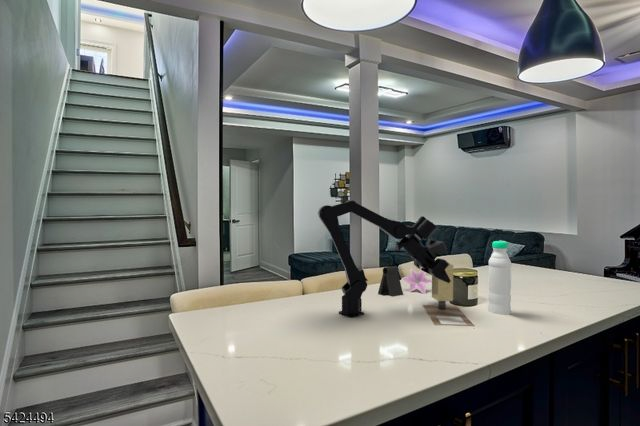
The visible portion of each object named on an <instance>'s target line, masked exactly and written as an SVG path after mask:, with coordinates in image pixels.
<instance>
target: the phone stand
mask: <svg viewBox="0 0 640 426" xmlns="http://www.w3.org/2000/svg"><path fill="white" fill-rule="evenodd" d="M377 294H378V295H380V296H382V297H384V296H385V297H386V296H390V297H392V298H394V297H399V296H404V292H403V288H402V283H401V279H400V275H399V267H398V266H397V265H392V266H384V267H383V268H382V277H381V280H380V285H379V287H378V292H377Z"/></svg>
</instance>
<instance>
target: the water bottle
mask: <svg viewBox="0 0 640 426" xmlns="http://www.w3.org/2000/svg"><path fill="white" fill-rule="evenodd" d="M491 246H492V249H493V252H492V253H491V255H490V257H489V259H488V273H487V275H488V277H487V279H488V280H487V281H488V284H487V285H488V294H487V295H488V296H487V297H488V303H487V304H488V305H487V310H488V312H491V313H493V314H497V315H511V313H512V310H511V309H512V306H511V301H512V295H511V289H512V270H511V269H512V268H511V267H512V262H511V259H510V257H509V255H508V252H507V250H508V248H509V247H508V242H507V241H502V240H495V241H494V240H493V242H492V245H491Z"/></svg>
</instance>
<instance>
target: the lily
mask: <svg viewBox="0 0 640 426" xmlns="http://www.w3.org/2000/svg"><path fill="white" fill-rule="evenodd" d="M400 281H403V282H405V283H406V284H409V287H408V292H409V293H411V292H412V291H415V290H416V289H417V290H418V291H419V292H421V293H422V294H423V295H426V292H427V290H426V285H428V284H432V279H431V278H430V279H429V278H427V273H426V272H424V271H422V270H421V269H419V271H416V270H414V269H413V268H410V275H408V276H404V277H401V279H400Z"/></svg>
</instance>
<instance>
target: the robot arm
mask: <svg viewBox="0 0 640 426" xmlns="http://www.w3.org/2000/svg"><path fill="white" fill-rule="evenodd" d="M349 213H351V214H353V215H355V216H357V217H359V218H361V219H363V220H365V221H367V222H369V223H370V224H372V225H373V226H377V227H378V228H379V229H380V230H381V231H383V232H384V233H385V234H386V235H387V236H389V237H391V238H394V239H396V240H399V241H395V242H394V243H395V246H394V247H395V250H398V251H401V249H403V250H404V251H405V252H406V253H407V254H408V255H409V257H410V258H411V259H412V260H413V266H414V267H416V268H417V269H419V270H422V271H424V272H426V274H429V275H430V276H431V277H432V276H434V277H436V278H438V279H440V280H443V281H445V282H447V283H450V282H451V280H450V279H449V277H448V275H447V273H446V271H445V269H446V268H447V267H448V266H449V264H450V262H448V261H447V260H446V259H443V258H438V255H439V254H441V253H443V252H446V251H447V246H446V245H445V243H444V241H442V240H436V241H435V240H433V239H430V240H428V241H427V239H428V238H429V237H430V236H432V234H433V233H434V232H435V231H436V230H437V229H438V227H437V226H436V225H435V223H433V222H432V221H430V220H429V219H427V218H426V217H425V216H423V215H422V216H420V217H419V218H418V219H417V220H416V221H415V223H414V224H413V225H412V226H411V225H406V224H405V223H403V222H401V221H397V220H394V219H390V218H387V217H385V216H382V215H381V214H379V213H376V212H374V211H372V210H371V209H369V208H367V207H365V206H363V205H361V204H360V203H358V202H356V201H355V200H353V199H352V200H347V201H345V202H340V203H338V204H335V205H329V204H327V205H323V206H320V207H319V210H318V211H317V215H318V217H319V220H320V221H321V223H322V224H323V226H324V227H325V228H326V230H327V231H328V233H329V236H330V237H331V239H332V242H333V244H334V246H335V249H336V251H337V253H338V256H339V258H340V261H341V263H342V265H343V268H344V271H345V277H346V282H345V284H343V286H342V287H341V290H342V293H343V295H342V296H341V310H339V311H338V313H339V314H340V315H344V316H346V317H349V318H354V317H358V316H360V315H361V316H362V315H364V314H365V311H362V304H363V303H362V300H363V299H362V295H363V293H364V292H366V290H367V288H368V281H369V280H368V278H367V277H366V276H365V271H364V269H363V268H362V267H361V266H359V267H357V266H356V263H355V261H354V258H353V257H352V254H351V252H350V250H349V249H350V248H348V245H347V243H346V240H345V237H344V236H343V234H342V231H341V228H340V224H339V217H341V216H343V215H346V214H349ZM422 240H424V241H427V246H426V245H423V244H422V242H421V241H422Z"/></svg>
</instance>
